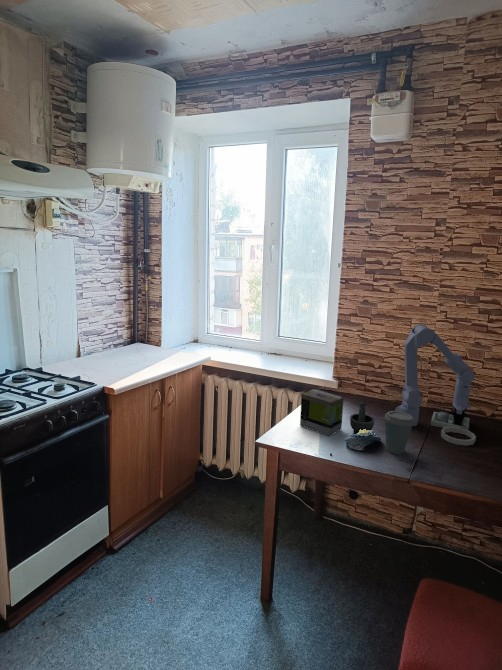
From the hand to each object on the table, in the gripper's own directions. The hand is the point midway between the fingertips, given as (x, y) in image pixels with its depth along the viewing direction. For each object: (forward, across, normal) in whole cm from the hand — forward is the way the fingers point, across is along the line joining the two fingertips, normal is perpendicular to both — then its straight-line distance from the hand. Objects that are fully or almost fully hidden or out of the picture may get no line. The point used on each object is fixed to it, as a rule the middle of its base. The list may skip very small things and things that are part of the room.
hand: (457, 423), depth 192 cm
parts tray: (+2, 0, +3) cm, 3 cm away
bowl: (+2, -14, -1) cm, 14 cm away
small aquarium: (+2, -31, +52) cm, 60 cm away
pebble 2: (+1, 0, 0) cm, 1 cm away
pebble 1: (+1, 0, +6) cm, 6 cm away
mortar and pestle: (+2, -27, +35) cm, 45 cm away
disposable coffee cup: (+2, -36, +20) cm, 41 cm away
